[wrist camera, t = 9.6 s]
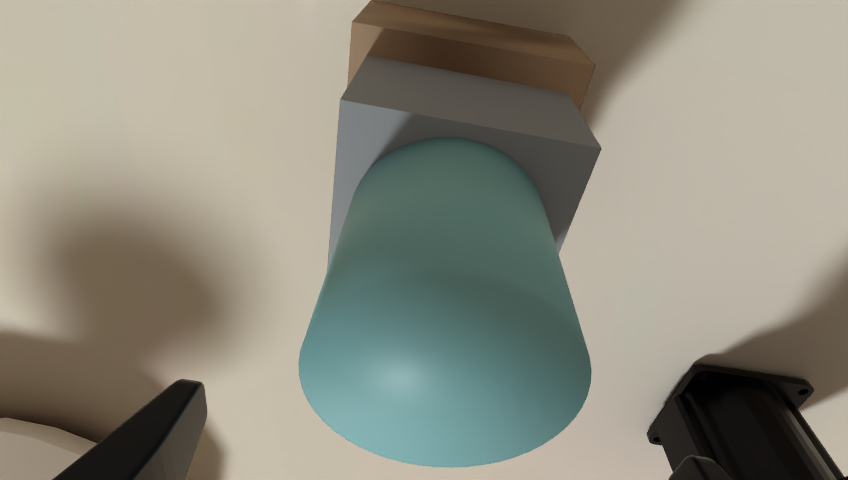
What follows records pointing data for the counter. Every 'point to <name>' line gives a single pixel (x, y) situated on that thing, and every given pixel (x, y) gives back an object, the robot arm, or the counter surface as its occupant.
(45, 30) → the counter surface
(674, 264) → the counter surface
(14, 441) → the white vase
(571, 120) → the grey square block
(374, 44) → the walnut base block
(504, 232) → the teal cylinder
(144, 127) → the counter surface
